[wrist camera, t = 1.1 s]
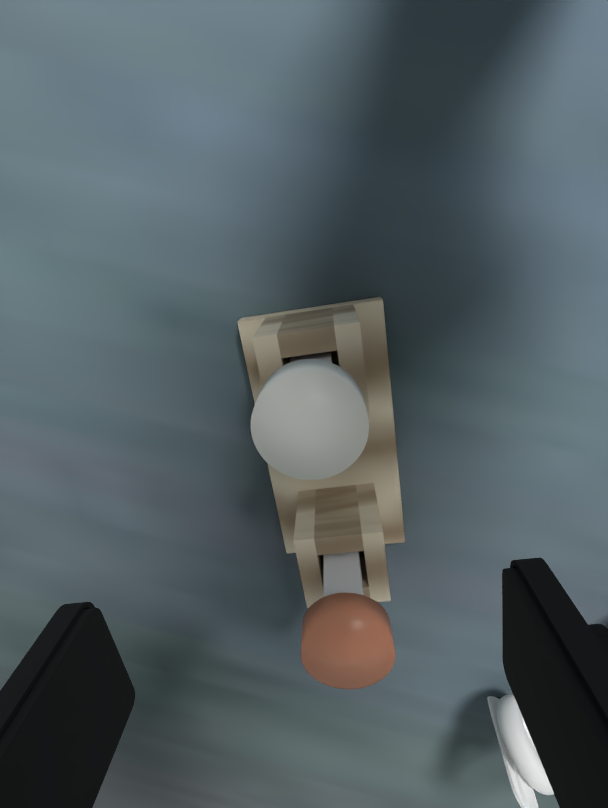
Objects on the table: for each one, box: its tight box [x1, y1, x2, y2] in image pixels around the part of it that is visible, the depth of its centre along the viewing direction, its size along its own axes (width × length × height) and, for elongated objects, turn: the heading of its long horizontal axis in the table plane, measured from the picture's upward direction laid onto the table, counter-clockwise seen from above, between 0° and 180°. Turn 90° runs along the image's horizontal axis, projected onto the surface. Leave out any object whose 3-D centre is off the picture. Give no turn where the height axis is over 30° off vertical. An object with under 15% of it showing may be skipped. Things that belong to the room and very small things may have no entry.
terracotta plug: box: [301, 551, 395, 689], centre depth 28 cm, size 5×5×8 cm
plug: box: [251, 351, 369, 480], centre depth 23 cm, size 5×5×8 cm
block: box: [237, 297, 405, 608], centre depth 31 cm, size 20×10×8 cm, turn 9°
